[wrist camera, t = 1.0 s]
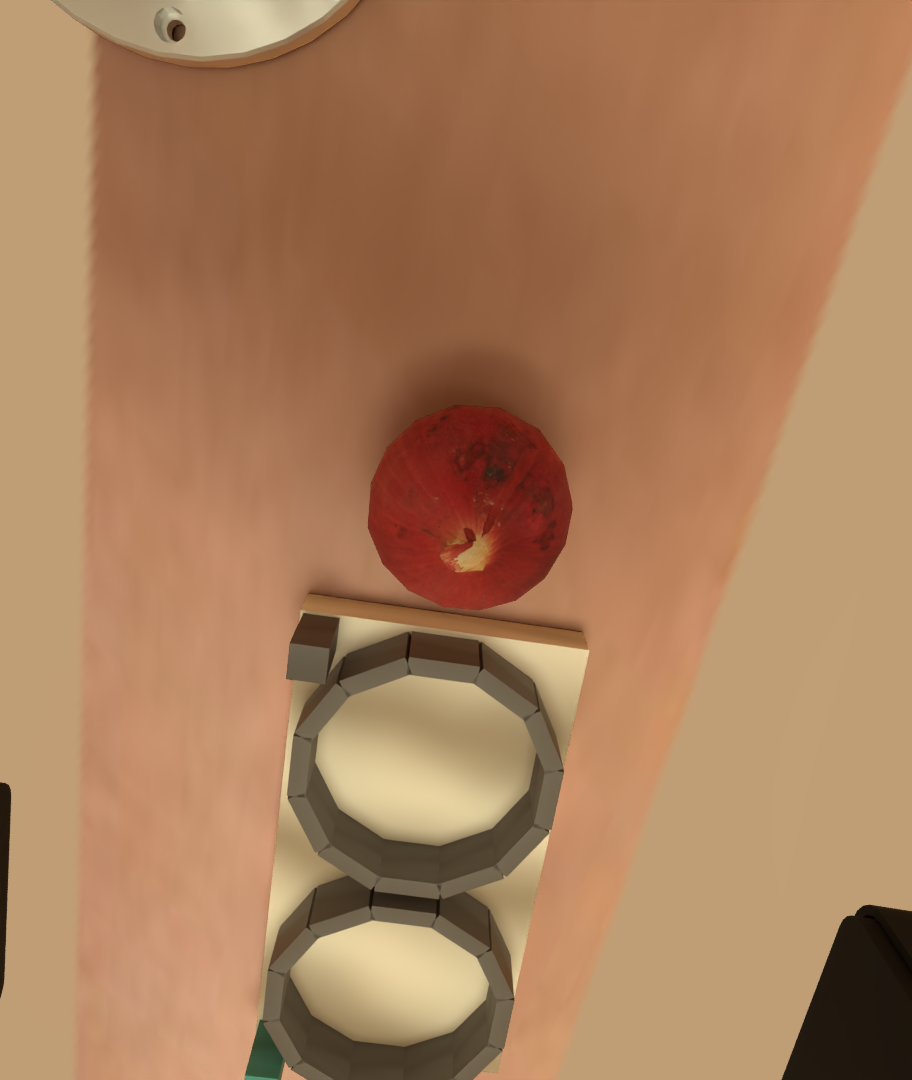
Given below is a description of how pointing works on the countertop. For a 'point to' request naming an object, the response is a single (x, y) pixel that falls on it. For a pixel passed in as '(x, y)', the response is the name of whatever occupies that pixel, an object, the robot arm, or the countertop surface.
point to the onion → (470, 507)
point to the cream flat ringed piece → (409, 838)
